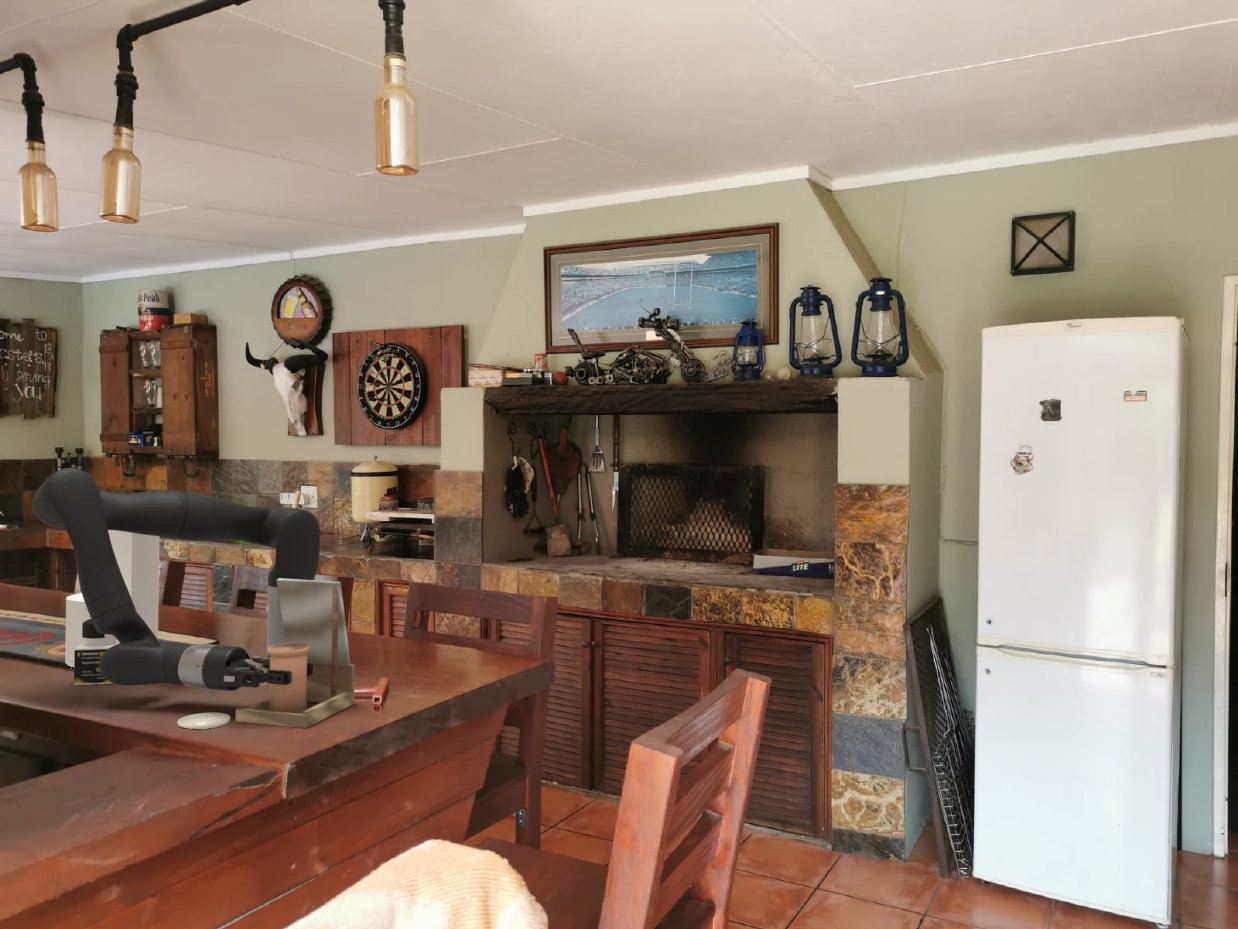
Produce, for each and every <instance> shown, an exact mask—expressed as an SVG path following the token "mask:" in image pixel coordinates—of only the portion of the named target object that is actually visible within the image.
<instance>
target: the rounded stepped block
mask: <svg viewBox="0 0 1238 929" xmlns="http://www.w3.org/2000/svg"><path fill="white" fill-rule="evenodd" d="M108 533H109V536H110V540H111V544H112V547H113V551H114V554H115V557H116V560H117V563H118V566H119V568H120V571H121V574H122V576H123V579H124V581H125V584H126V586H127V589H128V591H129V593H130V596H131V598H132V601H133V603H134V604H133V605H134V606H135V609H136V611H137V613H138V614H139V615H140V617H141V618H142V619H143V620H144V621H145V623H146V624H147V626H148V627H149V628H150V629H151V631H152V632H153V633H154V635H155V636H156V638H157V639H158V640H159V602H160V601H159V598H160V597H159V596H160V595H159V593H160V591H159V590H160V578H159V577H160V538H161V537H160V536H152V535H144V534H137V533H130V532H124V531H115V530H108ZM88 619H91V617H90V615H89V612H88V610H87V607H86V604H85V602H84V599H83V596H82V592H80V593H75V594H74V593H73V594H71V595H68V596H66V598H65V643H64V645H65V649H64V650H65V653H64V654H65V655H64V656H65V657H64V658H65V659H64V660H65V661H64V664H65V663H66V664H67V665H68V666H70V667H74V652H75V648H76V647H78V646H79V645H81V644H82V643H84V642H83V641H82V623H83V622H84V621H86V620H88ZM116 640H117V639H116Z"/></svg>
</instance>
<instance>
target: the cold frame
mask: <svg viewBox="0 0 1238 929" xmlns="http://www.w3.org/2000/svg"><path fill="white" fill-rule="evenodd" d="M277 587H278V594H279V601H280V608H281V615H282V622H283V629H284V636H285V643H306V644H309V645H310V653H309V654H308V655H307V662H308V663H312V664H313V674H312V675H310V676H307V697H306V702H313V703H314V702H315V703H318V704H316V705H313V706H311V707H309V708H306V710H305V711H303V714H300V713H288V712H277V711H269V698H267V699H265V700H263V701H260V702H258V703H254V704H253V705H250V706H248V707H246V708H242V707H240V708H236V709H235V723H244V722H245V723H247V724H257V725H267V726H279V727H289V728H290V727H291V728H300V729H307V728H309V727H311V726H313V725H315V724H318V723H319V722H321V721H323V720H325V719H327V718H329V717H331V716H333V715H334V714H337V713H339V712H340V711H343V710H345V709H347V708H349V707H350V706H353V705H354V704H355V688H356V687H355V681H356V679H355V677H356V676H355V675H356V673H355V671H356V665H355V664H351V658H350V657H351V656H350V649H349V648H350V646H349V640H348V631H347V630H348V629H347V624H346V616H345V615H346V614H345V607H344V599H343V591H342V589H343V588H342V582H341V581H335V580H316V579H315V580H301V579H283V578H279V579H277Z"/></svg>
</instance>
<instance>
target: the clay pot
mask: <svg viewBox="0 0 1238 929" xmlns="http://www.w3.org/2000/svg"><path fill="white" fill-rule="evenodd" d="M309 653H310V645H309V644H306V643H279V644H274V645H270V646H268V654H267V653H266V656H267V655H268V656H270V670H284V671H290V672H291V673H292V682H291V684H288V685H280V684H268V685H269V686H268V687H269V691H268V694H269V695H268V696H269V697H268V699H269V710H268V711H277V712H288V713H300V714H303V711H305V710H307V701H306V697H307V655H308V654H309Z"/></svg>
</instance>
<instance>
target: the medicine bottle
mask: <svg viewBox="0 0 1238 929" xmlns="http://www.w3.org/2000/svg"><path fill="white" fill-rule="evenodd" d="M82 641H83V642H84V643H82V644H81V645H79V646H78V647H76V648H75V652H74V669H73V684H74V686H92V685H93V686H94V685H95V684H98V685H113V684H114V683H112V682H110V681H108V680H107V679H106V678H105V677H104V676H103V675H102V673H101V671H100V666H99V665H100V659H101V657H102V655H103V654H104V652H105V651H106V650H108V649H109V648H110V647H112V646H114V645H117V644H120V643H119V641H118V640H116V638H115V636H113V635H110V634H101V633H99V632H98V631H97V630H96V629H95V627H94V624H93V622H92V620H91V619H88V620H86V621H84V622H83V623H82ZM114 685H115V684H114Z"/></svg>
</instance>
